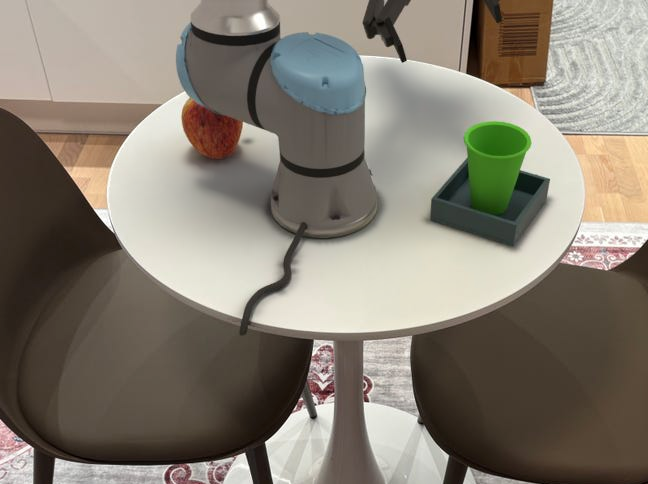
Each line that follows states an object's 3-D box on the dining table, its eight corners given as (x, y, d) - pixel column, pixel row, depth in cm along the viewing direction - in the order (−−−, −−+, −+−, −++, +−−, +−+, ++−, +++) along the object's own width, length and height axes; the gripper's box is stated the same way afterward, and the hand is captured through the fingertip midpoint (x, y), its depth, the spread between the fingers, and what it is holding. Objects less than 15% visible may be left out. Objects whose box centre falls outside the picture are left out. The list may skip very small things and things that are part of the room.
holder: (513, 246, 115) (516, 225, 113) (429, 219, 120) (431, 198, 117) (546, 199, 123) (550, 178, 121) (467, 175, 127) (469, 154, 125)
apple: (184, 169, 128) (174, 109, 121) (190, 138, 135) (180, 79, 127) (244, 168, 129) (237, 108, 121) (247, 136, 135) (240, 77, 128)
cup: (447, 195, 123) (453, 127, 115) (504, 183, 125) (513, 116, 117) (472, 230, 117) (480, 161, 109) (531, 218, 119) (543, 149, 111)
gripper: (490, -58, 126) (541, 20, 114) (336, 8, 129) (370, 91, 117) (482, -106, 120) (535, -29, 108) (320, -36, 122) (354, 47, 110)
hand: (450, 34), depth 112 cm, fingers open, 13 cm apart
